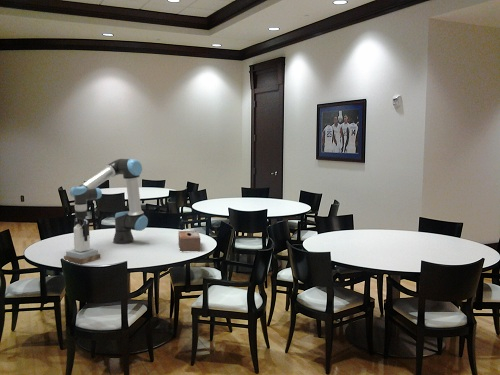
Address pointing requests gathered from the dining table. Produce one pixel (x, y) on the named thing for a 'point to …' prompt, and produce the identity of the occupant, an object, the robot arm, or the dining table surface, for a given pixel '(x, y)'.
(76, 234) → the milk carton
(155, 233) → the dining table surface
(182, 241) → the tissue box cover
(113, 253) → the dining table surface
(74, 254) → the top slab
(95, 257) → the bottom slab
